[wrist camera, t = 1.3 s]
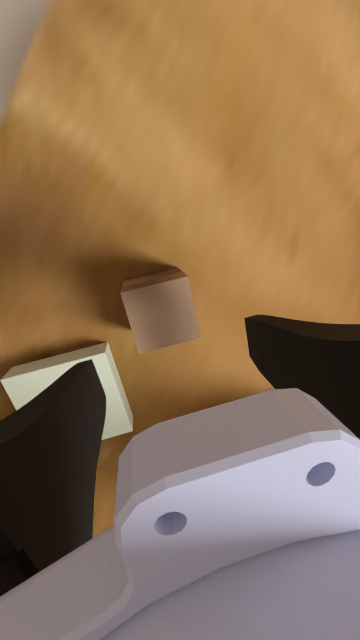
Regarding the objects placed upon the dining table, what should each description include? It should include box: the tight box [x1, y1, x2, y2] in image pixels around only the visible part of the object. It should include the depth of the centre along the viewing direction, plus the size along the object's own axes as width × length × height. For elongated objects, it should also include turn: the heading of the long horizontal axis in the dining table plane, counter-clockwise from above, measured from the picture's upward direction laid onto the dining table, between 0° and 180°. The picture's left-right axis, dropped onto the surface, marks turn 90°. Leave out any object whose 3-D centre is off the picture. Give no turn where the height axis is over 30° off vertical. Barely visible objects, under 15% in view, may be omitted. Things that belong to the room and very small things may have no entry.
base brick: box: [0, 342, 133, 440], centre depth 22 cm, size 8×8×2 cm
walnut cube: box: [120, 268, 200, 354], centre depth 20 cm, size 4×4×4 cm
